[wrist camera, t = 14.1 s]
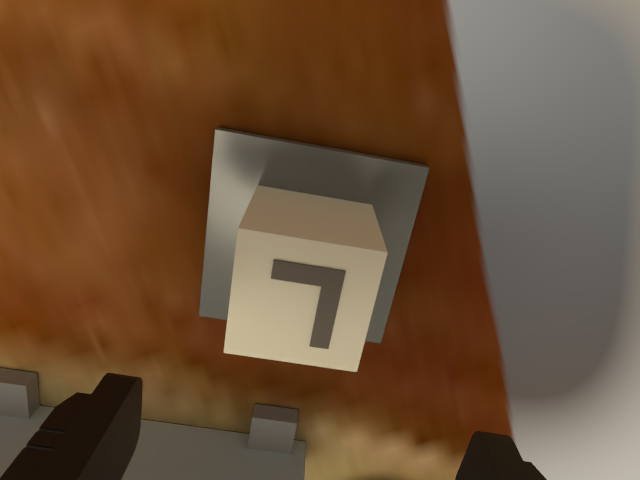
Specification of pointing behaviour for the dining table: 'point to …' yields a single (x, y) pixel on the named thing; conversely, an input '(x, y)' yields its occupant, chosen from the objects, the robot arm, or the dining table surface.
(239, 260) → the letter cube
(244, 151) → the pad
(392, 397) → the dining table surface
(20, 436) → the screen
